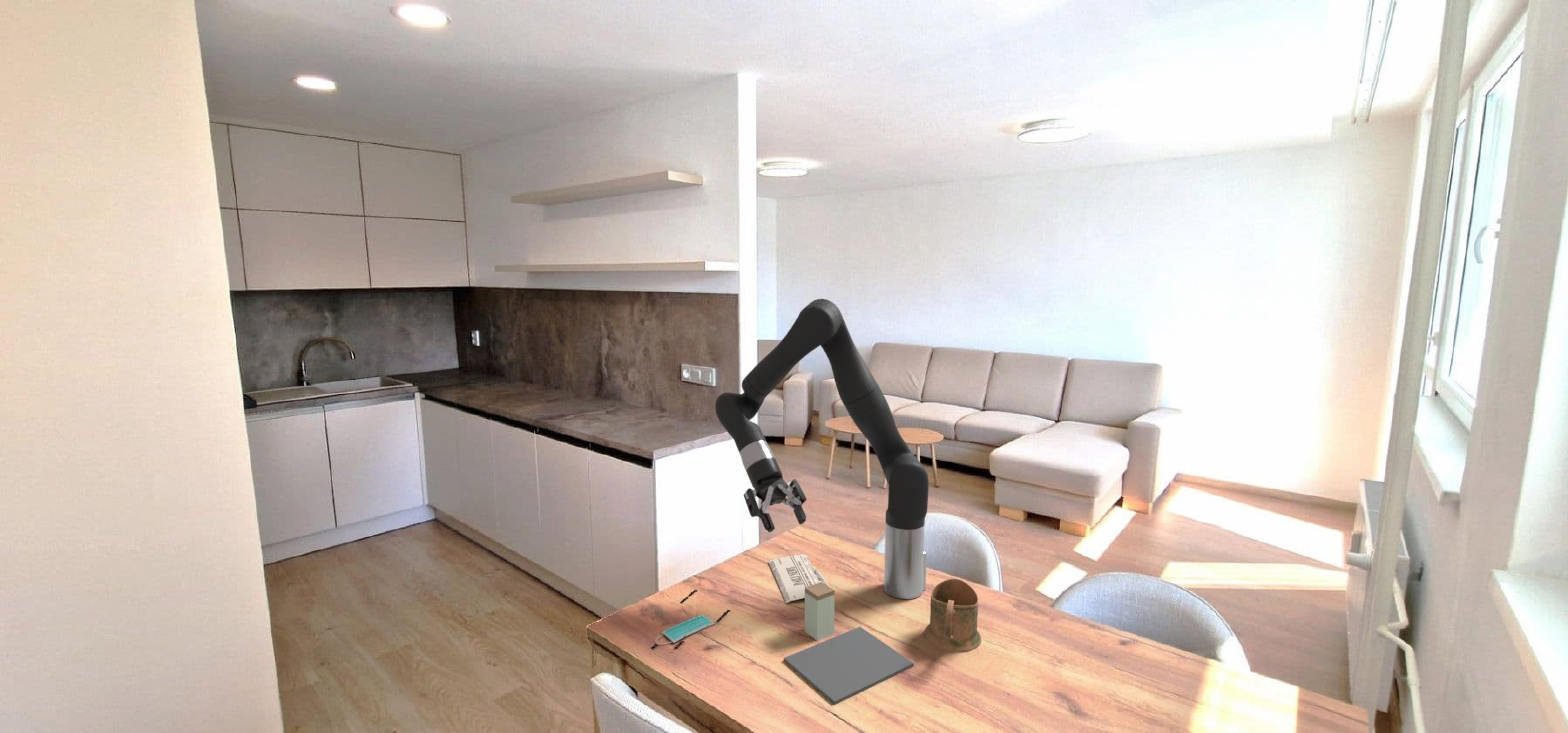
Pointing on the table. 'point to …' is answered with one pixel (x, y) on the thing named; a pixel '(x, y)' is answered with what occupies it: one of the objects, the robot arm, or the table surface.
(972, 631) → the mug
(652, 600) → the table surface
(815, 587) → the block
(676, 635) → the surgical mask
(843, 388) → the robot arm
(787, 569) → the newspaper
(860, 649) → the mat
